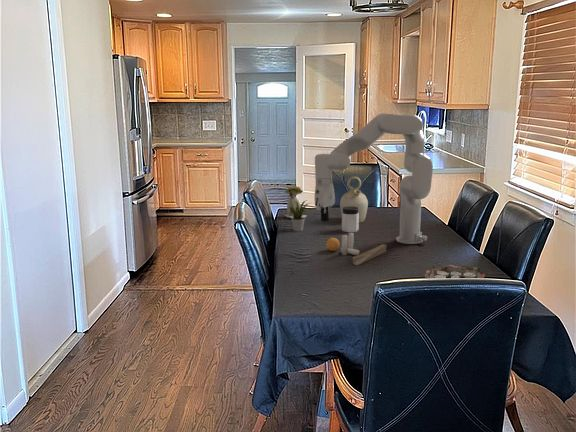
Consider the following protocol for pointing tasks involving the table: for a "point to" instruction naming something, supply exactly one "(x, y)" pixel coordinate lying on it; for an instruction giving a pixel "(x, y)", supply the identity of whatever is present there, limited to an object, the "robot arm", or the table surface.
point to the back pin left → (344, 244)
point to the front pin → (352, 251)
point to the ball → (333, 244)
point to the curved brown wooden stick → (369, 254)
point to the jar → (350, 219)
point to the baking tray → (455, 272)
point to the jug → (355, 199)
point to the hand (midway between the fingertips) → (324, 220)
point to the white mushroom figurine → (293, 200)
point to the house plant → (297, 216)
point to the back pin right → (351, 240)
